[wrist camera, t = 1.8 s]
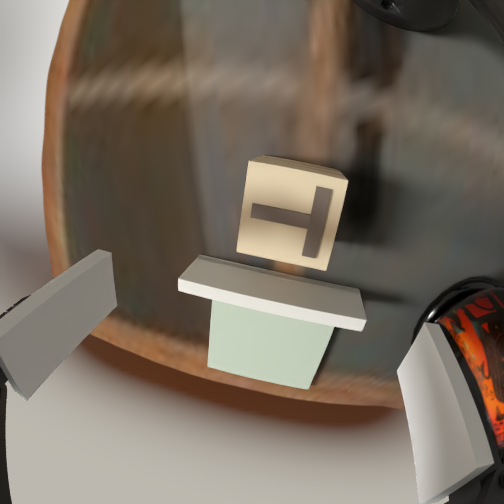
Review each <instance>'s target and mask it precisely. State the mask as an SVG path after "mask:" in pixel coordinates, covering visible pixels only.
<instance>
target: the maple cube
mask: <svg viewBox="0 0 504 504" xmlns="http://www.w3.org/2000/svg"><path fill="white" fill-rule="evenodd" d="M347 185H348V180H347V179H346V177H345V176H344V175H343V174H342V173H341V172H340V171H339V170H337V169H332V168H328V167H323V166H319V165H314V164H309V163H304V162H299V161H294V160H289V159H284V158H278V157H272V156H266V155H263V156H261V157H258V158H255V159H253V160H250V161H249V164H248V171H247V178H246V185H245V192H244V199H243V206H242V214H241V221H240V229H239V236H238V244H237V251H236V252H240V253H244V254H249V255H254V256H258V257H263V258H268V259H272V260H277V261H282V262H287V263H291V264H296V265H301V266H305V267H310V268H315V269H319V270H324V271H326V269H327V265H328V261H329V258H330V254H331V250H332V247H333V243H334V239H335V235H336V231H337V227H338V223H339V219H340V215H341V211H342V207H343V202H344V198H345V194H346V189H347Z"/></svg>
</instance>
